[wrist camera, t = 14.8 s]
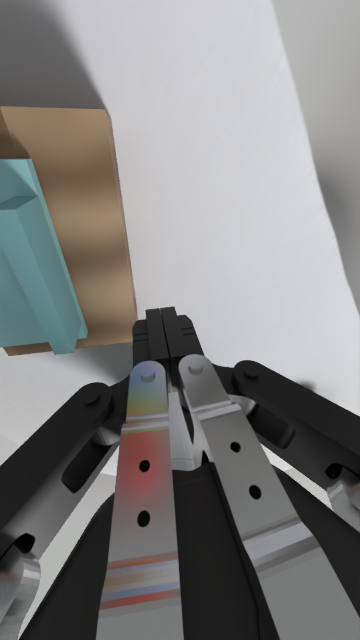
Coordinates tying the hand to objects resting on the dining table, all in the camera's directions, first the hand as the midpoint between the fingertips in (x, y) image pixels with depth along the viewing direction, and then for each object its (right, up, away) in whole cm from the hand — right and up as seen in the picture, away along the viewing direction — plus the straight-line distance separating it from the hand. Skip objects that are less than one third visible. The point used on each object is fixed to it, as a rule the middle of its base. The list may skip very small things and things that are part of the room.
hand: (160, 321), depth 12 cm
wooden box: (-12, +8, +12) cm, 19 cm away
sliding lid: (-13, +4, +7) cm, 15 cm away
